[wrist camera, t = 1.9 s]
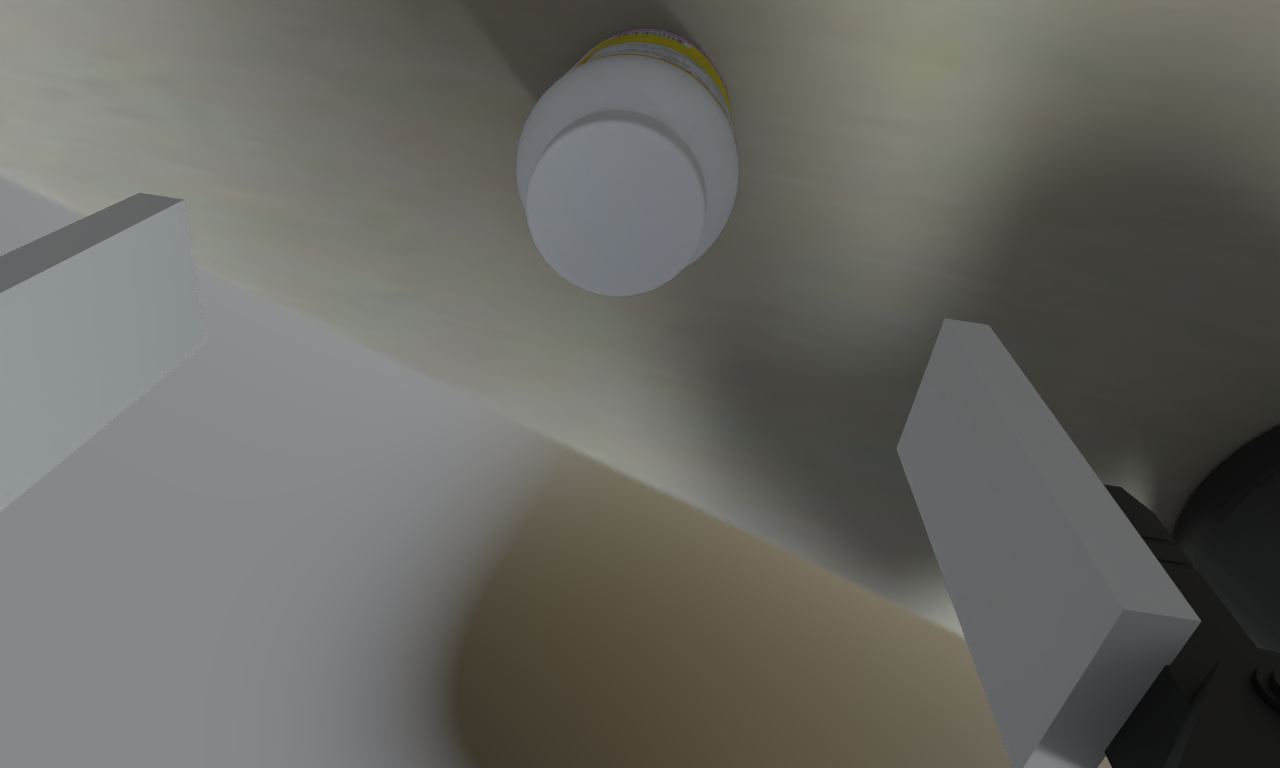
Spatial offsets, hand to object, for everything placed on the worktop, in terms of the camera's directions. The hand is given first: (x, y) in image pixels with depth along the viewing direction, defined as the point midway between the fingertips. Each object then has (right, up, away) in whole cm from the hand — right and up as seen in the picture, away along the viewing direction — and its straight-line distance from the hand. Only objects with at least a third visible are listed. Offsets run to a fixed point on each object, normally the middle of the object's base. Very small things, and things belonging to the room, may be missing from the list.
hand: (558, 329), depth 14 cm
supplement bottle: (+2, +10, +18) cm, 20 cm away
